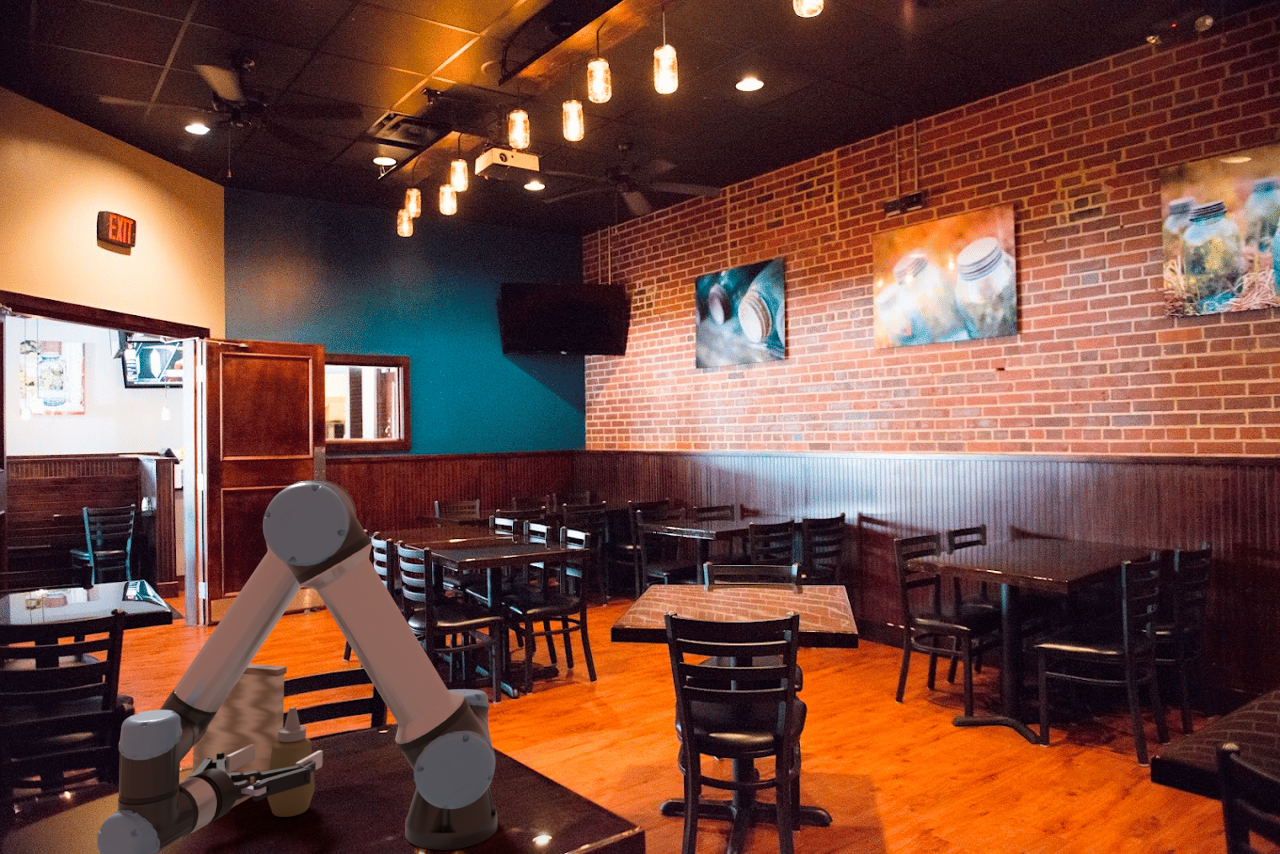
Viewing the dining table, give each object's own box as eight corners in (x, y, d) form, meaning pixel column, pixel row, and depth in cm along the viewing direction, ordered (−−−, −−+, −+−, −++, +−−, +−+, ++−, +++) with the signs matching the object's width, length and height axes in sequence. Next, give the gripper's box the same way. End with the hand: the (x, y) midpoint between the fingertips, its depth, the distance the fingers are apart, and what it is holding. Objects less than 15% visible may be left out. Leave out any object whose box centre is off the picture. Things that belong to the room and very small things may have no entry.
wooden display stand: (284, 792, 160) (286, 666, 161) (234, 820, 147) (237, 684, 148) (199, 782, 165) (203, 660, 166) (144, 809, 152) (148, 677, 153)
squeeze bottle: (297, 822, 147) (299, 716, 148) (255, 818, 148) (257, 713, 149) (323, 804, 155) (326, 703, 156) (283, 800, 156) (286, 700, 157)
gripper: (129, 817, 134) (225, 770, 154) (269, 834, 128) (349, 783, 149) (131, 769, 134) (226, 728, 155) (270, 783, 128) (349, 739, 149)
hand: (286, 754), depth 152 cm, fingers open, 13 cm apart
